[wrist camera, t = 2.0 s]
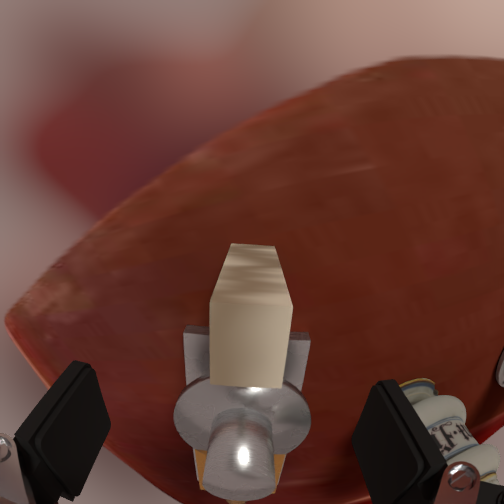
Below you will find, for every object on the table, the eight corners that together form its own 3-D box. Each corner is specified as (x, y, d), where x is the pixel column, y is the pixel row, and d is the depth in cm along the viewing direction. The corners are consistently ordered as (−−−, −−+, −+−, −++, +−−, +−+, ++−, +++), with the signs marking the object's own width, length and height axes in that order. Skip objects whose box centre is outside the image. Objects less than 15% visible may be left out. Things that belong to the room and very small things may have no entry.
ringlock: (307, 332, 26) (342, 439, 13) (277, 477, 31) (281, 551, 19) (187, 325, 26) (141, 428, 13) (198, 472, 31) (186, 546, 19)
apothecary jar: (453, 396, 28) (515, 483, 11) (384, 449, 30) (422, 546, 13) (425, 352, 26) (514, 462, 9) (341, 417, 28) (381, 548, 11)
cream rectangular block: (274, 246, 24) (292, 307, 12) (270, 297, 25) (281, 388, 13) (231, 243, 24) (209, 302, 12) (229, 295, 25) (209, 384, 13)
